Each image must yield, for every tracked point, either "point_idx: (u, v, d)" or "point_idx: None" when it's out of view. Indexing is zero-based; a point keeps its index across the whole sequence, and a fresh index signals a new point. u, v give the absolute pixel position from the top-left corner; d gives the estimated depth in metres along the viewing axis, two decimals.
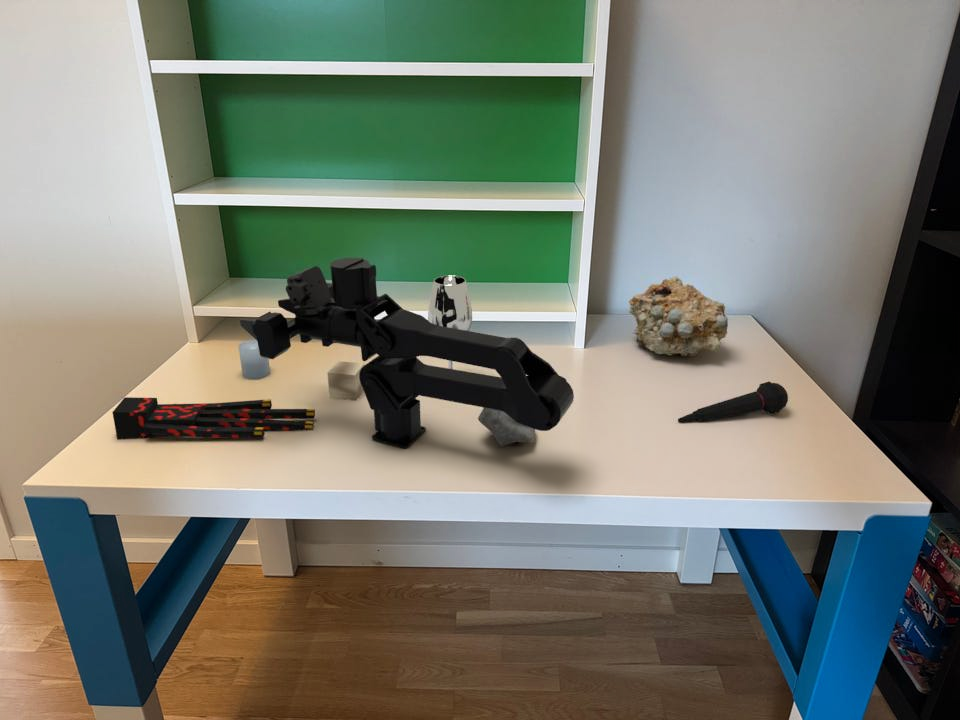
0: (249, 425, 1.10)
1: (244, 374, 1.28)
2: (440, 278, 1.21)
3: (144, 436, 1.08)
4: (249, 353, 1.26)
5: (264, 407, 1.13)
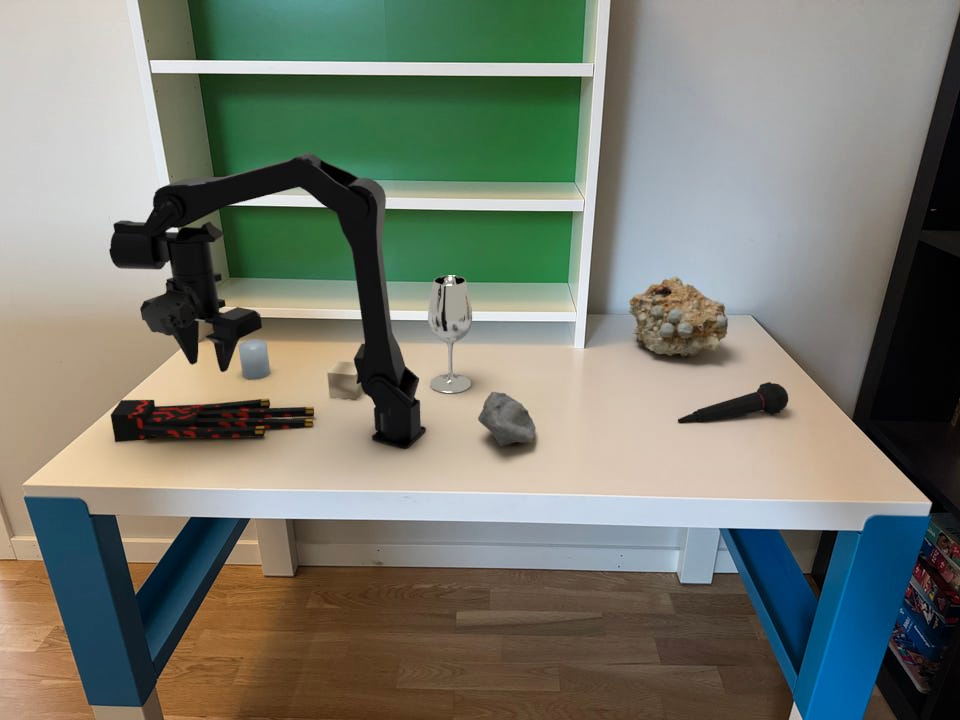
0: (248, 424, 1.10)
1: (244, 374, 1.28)
2: (440, 278, 1.21)
3: (143, 438, 1.08)
4: (249, 353, 1.26)
5: (263, 406, 1.14)
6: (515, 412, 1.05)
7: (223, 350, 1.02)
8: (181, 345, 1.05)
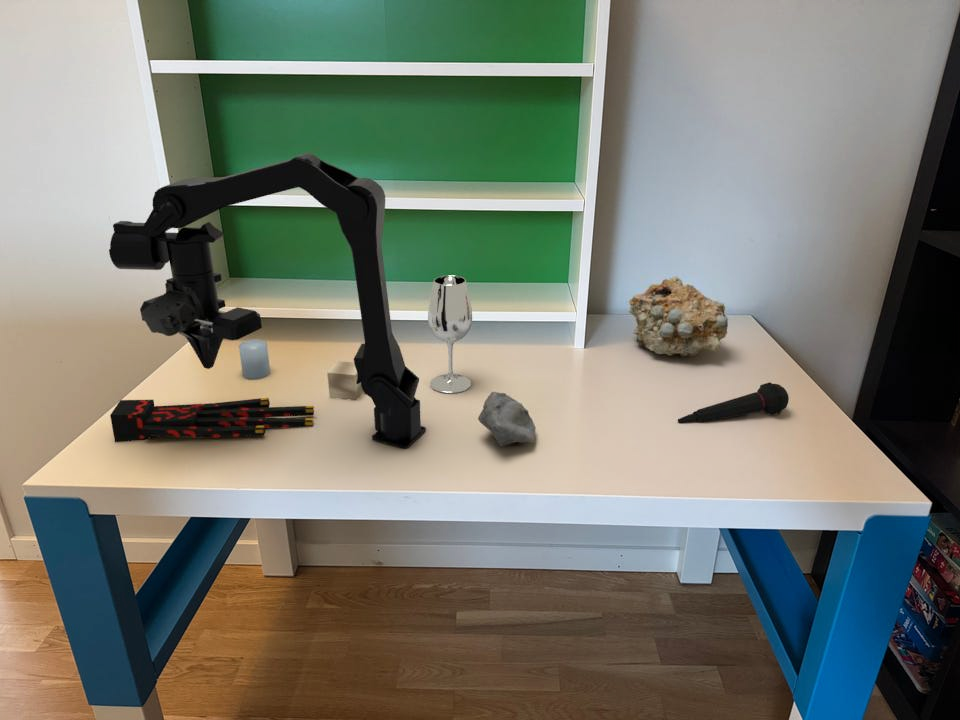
0: (249, 423, 1.10)
1: (244, 374, 1.28)
2: (440, 278, 1.21)
3: (143, 438, 1.08)
4: (249, 352, 1.26)
5: (262, 406, 1.14)
6: (515, 412, 1.05)
7: (208, 347, 1.04)
8: (195, 349, 1.04)
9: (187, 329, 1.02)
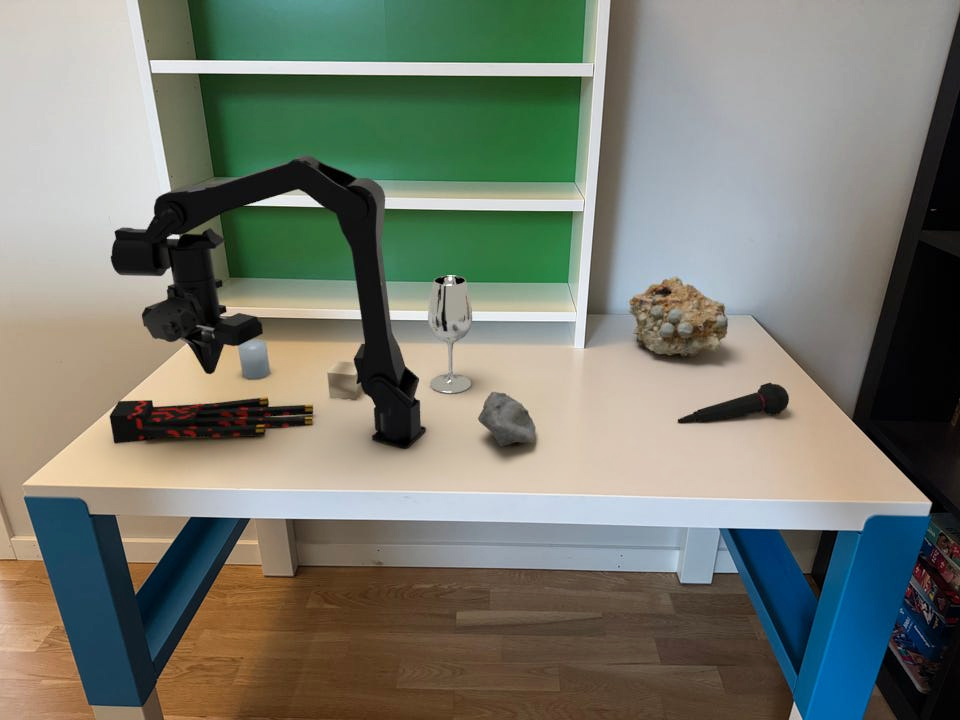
0: (248, 423, 1.10)
1: (244, 374, 1.28)
2: (440, 278, 1.21)
3: (142, 439, 1.07)
4: (248, 353, 1.26)
5: (262, 405, 1.14)
6: (515, 412, 1.05)
7: (210, 352, 1.04)
8: (197, 354, 1.05)
9: (188, 335, 1.03)
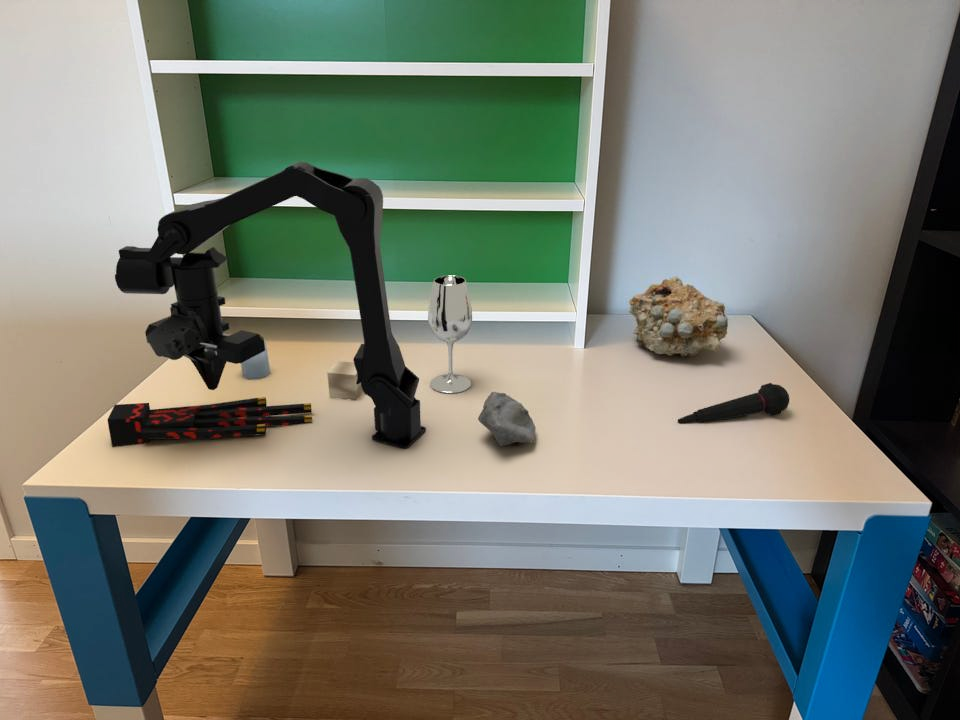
0: (248, 423, 1.11)
1: (244, 374, 1.28)
2: (440, 278, 1.21)
3: (141, 442, 1.07)
4: None
5: (260, 405, 1.14)
6: (515, 412, 1.05)
7: (212, 369, 1.05)
8: (199, 371, 1.06)
9: (192, 352, 1.04)
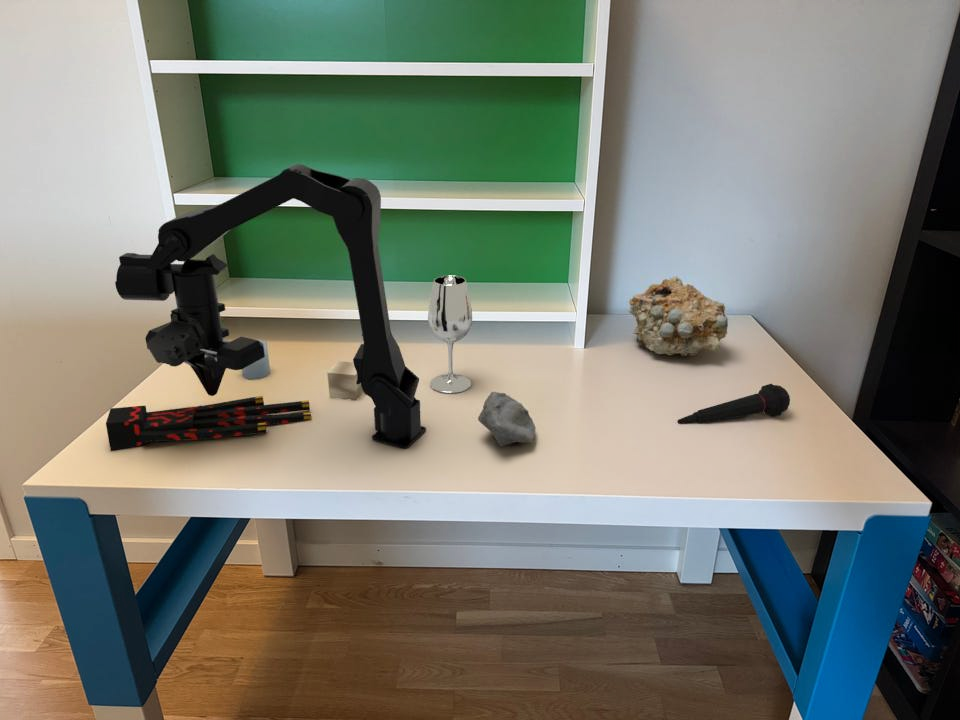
0: (248, 422, 1.11)
1: (244, 374, 1.28)
2: (440, 278, 1.21)
3: (140, 445, 1.06)
4: None
5: (257, 404, 1.15)
6: (515, 412, 1.05)
7: (212, 375, 1.05)
8: (199, 377, 1.06)
9: (191, 358, 1.04)
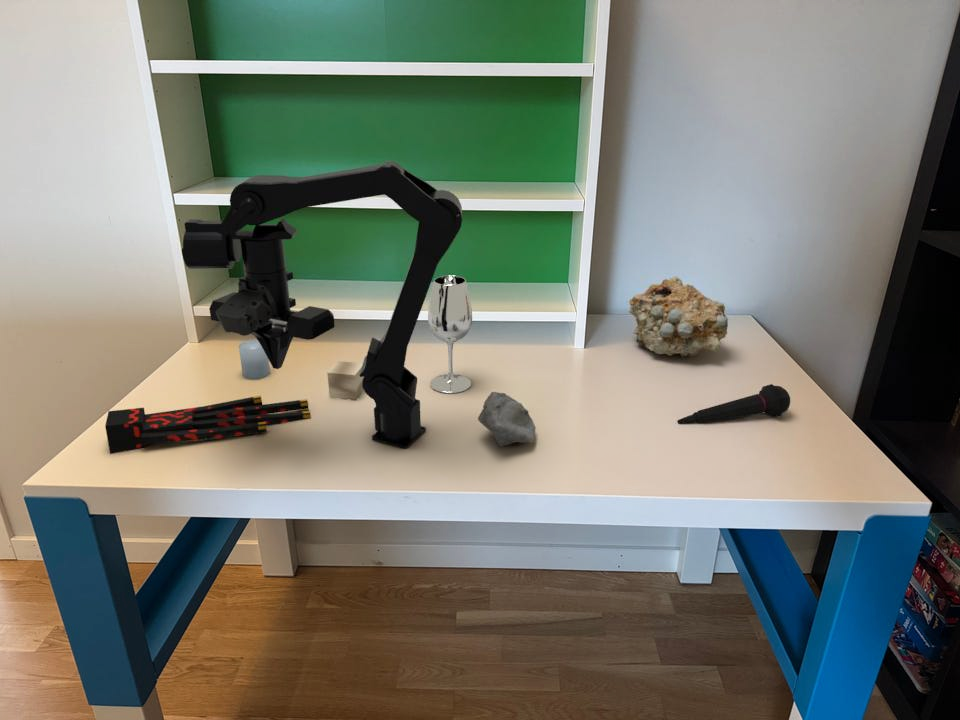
0: (248, 422, 1.11)
1: (243, 374, 1.28)
2: (440, 278, 1.21)
3: (140, 447, 1.05)
4: (248, 353, 1.26)
5: (256, 404, 1.15)
6: (515, 412, 1.05)
7: (279, 347, 1.01)
8: (265, 349, 1.02)
9: (258, 328, 1.00)
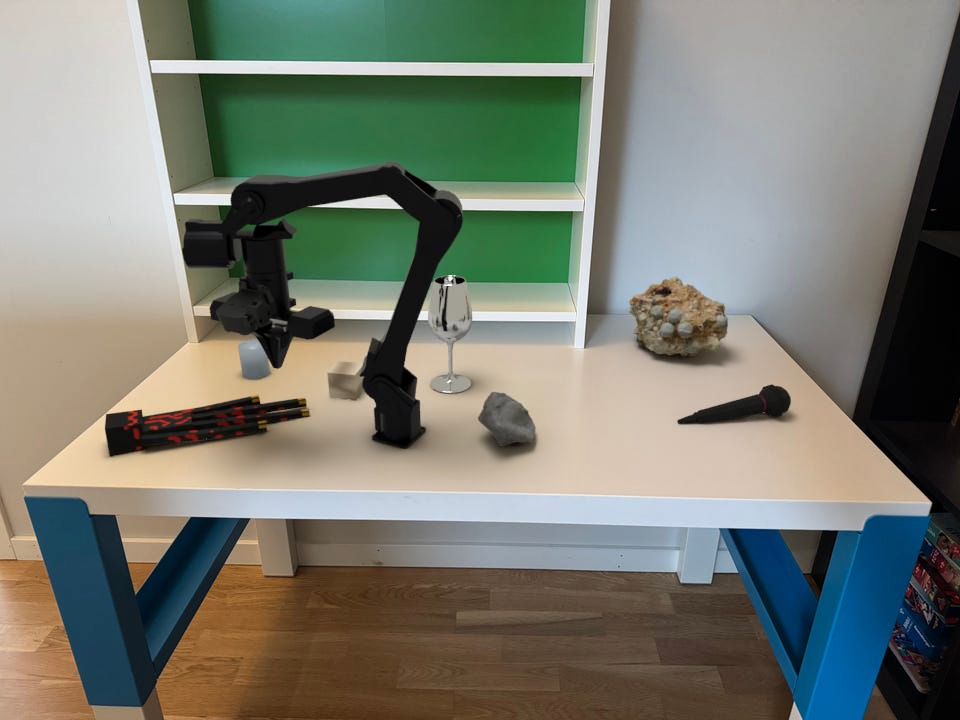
0: (247, 421, 1.11)
1: (243, 374, 1.28)
2: (440, 278, 1.21)
3: (139, 449, 1.05)
4: (247, 353, 1.26)
5: (254, 403, 1.15)
6: (515, 412, 1.05)
7: (279, 346, 1.01)
8: (265, 348, 1.02)
9: (258, 328, 1.00)
